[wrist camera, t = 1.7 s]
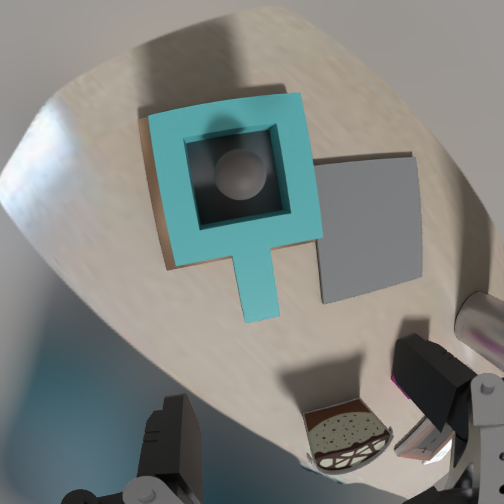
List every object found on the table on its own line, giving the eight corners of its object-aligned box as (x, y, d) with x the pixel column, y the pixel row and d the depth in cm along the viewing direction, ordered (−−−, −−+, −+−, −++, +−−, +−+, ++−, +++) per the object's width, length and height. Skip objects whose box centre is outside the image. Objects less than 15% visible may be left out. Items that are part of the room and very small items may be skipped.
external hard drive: (464, 423, 51) (438, 456, 53) (447, 427, 49) (420, 461, 51) (467, 426, 49) (441, 460, 51) (451, 430, 47) (423, 465, 50)
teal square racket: (290, 101, 20) (300, 92, 17) (318, 292, 24) (329, 304, 21) (154, 123, 19) (147, 115, 17) (194, 318, 23) (193, 333, 20)
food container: (293, 439, 40) (309, 485, 31) (292, 415, 39) (310, 464, 29) (363, 419, 42) (389, 459, 32) (367, 394, 40) (397, 435, 30)
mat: (413, 157, 32) (415, 156, 32) (419, 275, 36) (422, 276, 36) (305, 166, 31) (307, 166, 31) (322, 302, 35) (323, 304, 34)
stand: (288, 97, 29) (348, 38, 14) (311, 238, 33) (385, 282, 18) (141, 121, 28) (85, 74, 13) (168, 266, 32) (136, 335, 17)
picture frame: (463, 371, 44) (393, 449, 46) (470, 377, 42) (398, 457, 44) (484, 389, 48) (425, 455, 50) (490, 394, 45) (429, 461, 48)
